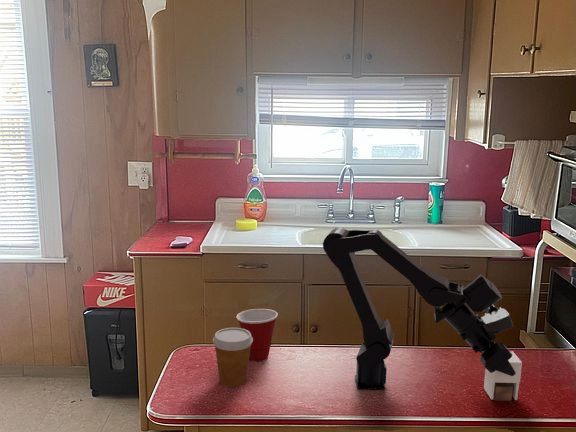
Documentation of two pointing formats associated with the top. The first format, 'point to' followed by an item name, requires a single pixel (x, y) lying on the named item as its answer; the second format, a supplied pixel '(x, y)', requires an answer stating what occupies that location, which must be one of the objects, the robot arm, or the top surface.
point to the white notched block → (504, 377)
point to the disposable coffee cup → (232, 355)
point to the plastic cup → (258, 330)
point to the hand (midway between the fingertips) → (509, 368)
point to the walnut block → (503, 391)
